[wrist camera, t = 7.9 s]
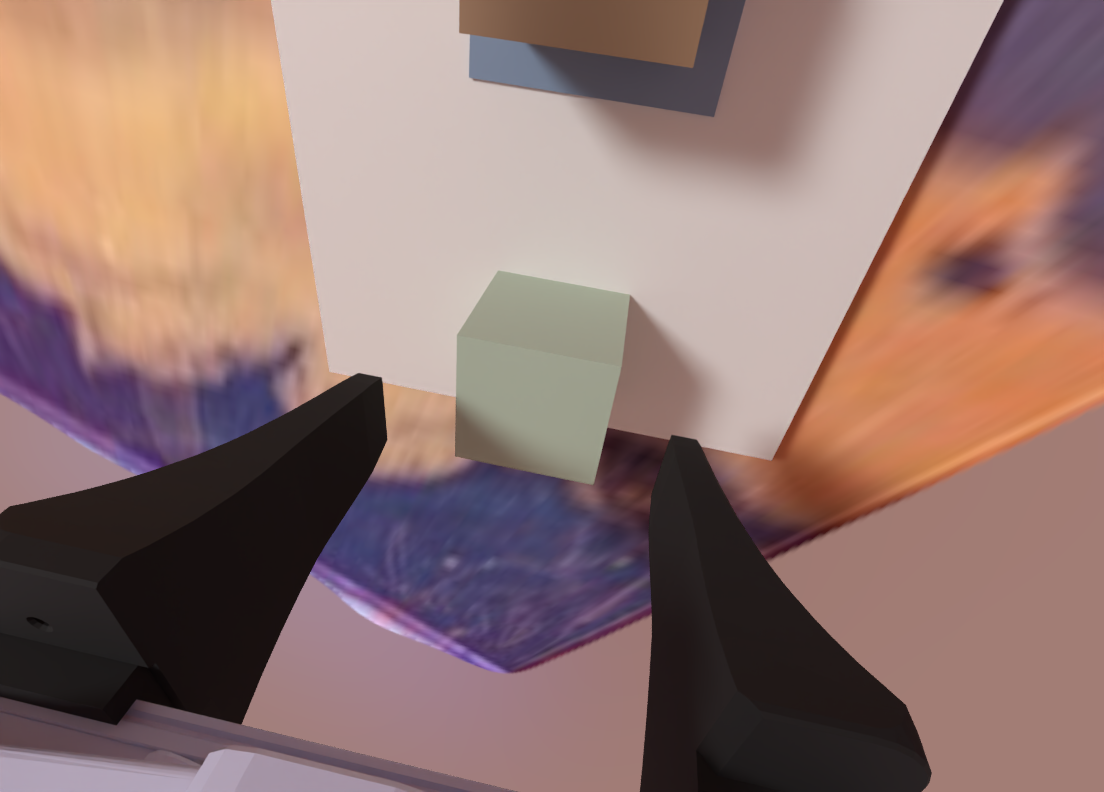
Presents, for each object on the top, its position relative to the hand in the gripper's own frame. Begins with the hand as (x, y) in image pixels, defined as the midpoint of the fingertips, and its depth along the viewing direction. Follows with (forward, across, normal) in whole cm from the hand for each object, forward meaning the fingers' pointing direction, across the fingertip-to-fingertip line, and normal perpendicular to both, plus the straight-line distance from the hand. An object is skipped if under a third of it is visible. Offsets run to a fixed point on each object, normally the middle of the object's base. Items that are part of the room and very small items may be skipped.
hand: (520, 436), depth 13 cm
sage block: (+5, 0, 0) cm, 5 cm away
